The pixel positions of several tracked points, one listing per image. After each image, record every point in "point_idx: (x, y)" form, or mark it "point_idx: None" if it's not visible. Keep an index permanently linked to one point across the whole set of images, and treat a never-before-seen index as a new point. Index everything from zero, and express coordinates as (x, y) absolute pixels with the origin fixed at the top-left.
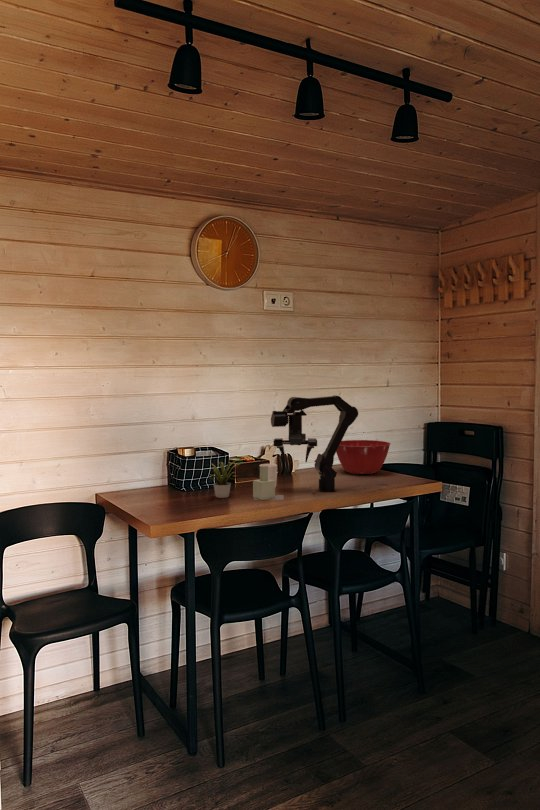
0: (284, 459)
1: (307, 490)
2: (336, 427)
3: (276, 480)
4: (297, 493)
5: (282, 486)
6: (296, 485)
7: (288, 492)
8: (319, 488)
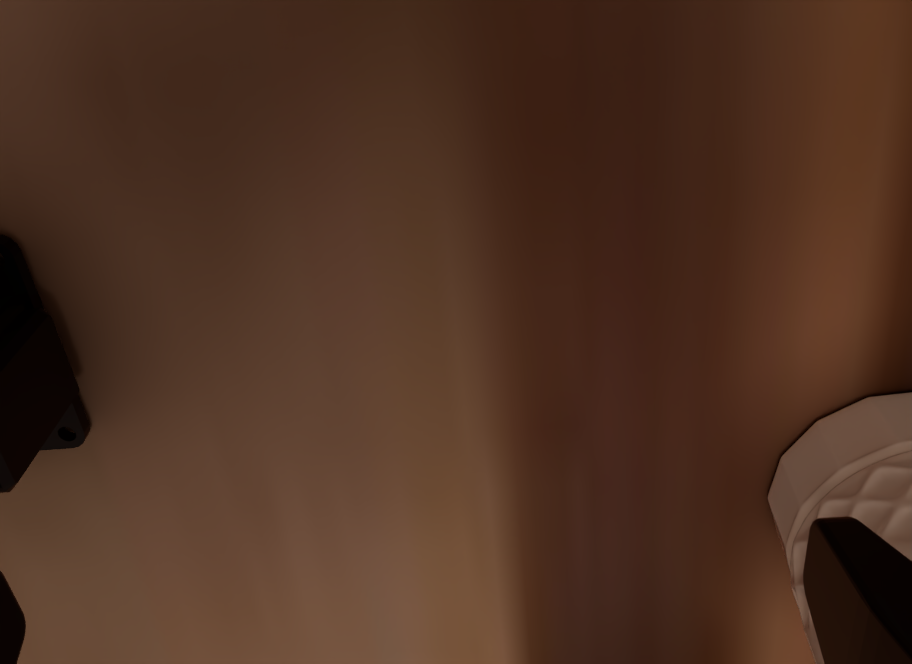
0: (892, 590)
1: (253, 307)
2: None
3: (793, 557)
4: (387, 44)
5: (667, 530)
6: (469, 595)
7: (563, 119)
8: (34, 311)
